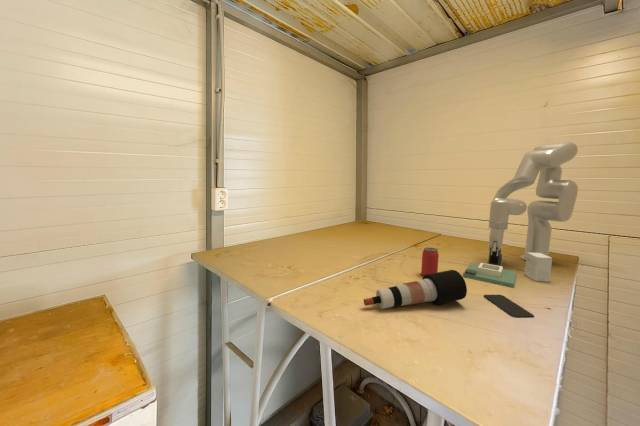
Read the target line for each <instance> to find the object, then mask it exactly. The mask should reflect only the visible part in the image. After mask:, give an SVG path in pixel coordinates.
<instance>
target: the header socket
mask: <svg viewBox="0 0 640 426" xmlns="http://www.w3.org/2000/svg"><path fill="white" fill-rule="evenodd" d="M478 265H479V267H478V273H481V274H486V275H490V276H495V277H500V278H501V275H502V271H503V269H504V267H503V266H502V265H501V266H496V265H491V264H488V263H485V262H480V263H479V264H478Z"/></svg>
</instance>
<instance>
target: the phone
mask: <svg viewBox="0 0 640 426" xmlns="http://www.w3.org/2000/svg"><path fill="white" fill-rule="evenodd" d="M483 298H484V299H486V300H487V301H488V302H490V303H491V304H492V305H494V306H495V307H497V308H498V309H500V311H503V312H504V313H505V314H507V315H508V316H510V317H512V318H519V319H520V318H529V319H530V318H535V315H534V314H533V313H532V312H530V311H528V310H527V309H525V308H524V307H522V306H521V305H519V304H517V303H516V302H514V301H513V300H511V299H509V298H508V297H506V296H504V295H502V294H484V295H483Z"/></svg>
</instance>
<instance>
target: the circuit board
mask: <svg viewBox="0 0 640 426" xmlns="http://www.w3.org/2000/svg"><path fill="white" fill-rule="evenodd" d="M479 265H480V264H477V263H470V264H469V265H468V266H467V268H466V269H465V270H464V272H463V273H462V277H463V278H468V279H471V280H477V281H480V282H481V281H482V282H486V283H490V284H495V285H498V286H499V285H501V286H505V287H509V288H514V287H515V283H516V275H517V271H516V270H509V269H504V268H503V271H502V275H501V278H500V277H495V276H490V275H486V274H481V273H478V267H479Z"/></svg>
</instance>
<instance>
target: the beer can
mask: <svg viewBox="0 0 640 426" xmlns="http://www.w3.org/2000/svg"><path fill="white" fill-rule="evenodd" d="M439 256H440V255H439V251H438V249H437V248H435V247H424V248H423V250H422V253H421V271H420V273H421V275H422V277H423V276H424V275H426V274H432V273H437V272H439V271H438V269H439V268H438V267H439Z"/></svg>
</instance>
